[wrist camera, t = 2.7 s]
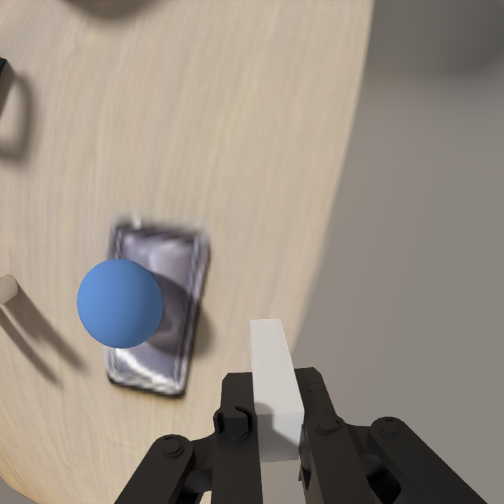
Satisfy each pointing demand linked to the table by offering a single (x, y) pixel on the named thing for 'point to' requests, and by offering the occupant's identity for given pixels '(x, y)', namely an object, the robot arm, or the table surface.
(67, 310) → the table surface
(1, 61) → the watch
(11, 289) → the pin
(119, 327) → the ball
